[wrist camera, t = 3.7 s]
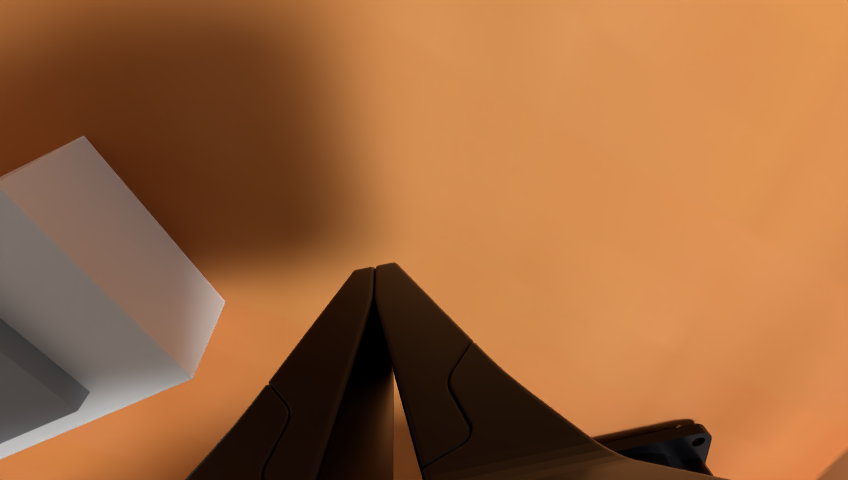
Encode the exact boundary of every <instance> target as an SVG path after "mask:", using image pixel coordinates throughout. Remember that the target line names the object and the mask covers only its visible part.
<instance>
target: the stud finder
mask: <svg viewBox="0 0 848 480" xmlns="http://www.w3.org/2000/svg"><path fill="white" fill-rule="evenodd" d="M224 305H225V301H224V299H223V298H222V297H221V296H220V295H219V294H218V292H217V291H216V290H215V289H214V288H213V287H212V285H211V284H210V283H209V282H208V281H207V280H206V278H205V277H204V276H203V275H202V274H201V272H200V271H199V270H198V269H197V268H196V267H195V265H194V264H193V263H192V262H191V261H190V260H189V258H188V257H187V256H186V255H185V254H184V252H183V251H182V250H181V249H180V248H179V247H178V245H177V244H176V243H175V242H174V241H173V240H172V238H171V237H170V236H169V235H168V234H167V233H166V231H165V230H164V229H163V228H162V227H161V225H160V224H159V223H158V222H157V221H156V220H155V218H154V217H153V216H152V215H151V214H150V213H149V211H148V210H147V209H146V208H145V207H144V205H143V204H142V203H141V202H140V201H139V200H138V198H137V197H136V196H135V195H134V194H133V193H132V191H131V190H130V189H129V188H128V187H127V186H126V184H125V183H124V182H123V181H122V180H121V178H120V177H119V176H118V175H117V174H116V173H115V171H114V170H113V169H112V168H111V167H110V166H109V164H108V163H107V162H106V161H105V160H104V158H103V157H102V156H101V155H100V154H99V153H98V151H97V150H96V149H95V148H94V147H93V146H92V144H91V143H90V142H89V141H88V140H87V139H86V137H85V136H82V137H80V138H78V139H75V140H73V141H71V142H69V143H67V144H65V145H63V146H61V147H59V148H57V149H55V150H53V151H51V152H49V153H47V154H45V155H43V156H41V157H39V158H37V159H35V160H33V161H31V162H29V163H27V164H25V165H23V166H21V167H19V168H17V169H15V170H13V171H11V172H9V173H7V174H5V175H3V176H1V177H0V459H2V458H5V457H7V456H9V455H12V454H14V453H16V452H19V451H21V450H24V449H26V448H28V447H31V446H33V445H35V444H38V443H40V442H43V441H45V440H47V439H50V438H52V437H55V436H57V435H59V434H62V433H64V432H66V431H69V430H71V429H74V428H76V427H78V426H81V425H83V424H85V423H88V422H90V421H93V420H95V419H97V418H100V417H102V416H105V415H107V414H109V413H112V412H114V411H116V410H119V409H121V408H124V407H126V406H128V405H131V404H133V403H136V402H138V401H140V400H143V399H145V398H147V397H150V396H152V395H155V394H157V393H159V392H162V391H164V390H166V389H169V388H171V387H174V386H176V385H178V384H181V383H183V382H186V381H188V380H190V379H193V377H194V374H195V372H196V370H197V367H198V365H199V363H200V360H201V358H202V356H203V353H204V351H205V349H206V346H207V344H208V342H209V339H210V337H211V335H212V332H213V330H214V328H215V325H216V323H217V321H218V319H219V316H220V314H221V312H222V309H223V307H224Z"/></svg>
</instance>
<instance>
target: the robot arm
mask: <svg viewBox="0 0 848 480" xmlns="http://www.w3.org/2000/svg"><path fill="white" fill-rule="evenodd" d="M393 372H394V374H393ZM394 376H395V379H396V383H397V387H398V390H399V394H400V398H401V401H402V405H403V409H404V413H405V416H406V420H407V424H408V427H409V431H410V435H411V438H412V442H413V446H414V449H415V453H416V457H417V461H418V464H419V468H420V472H421V475H422V479H423V480H729V479H724V478H720V477H715V476H713V474H712V473H711V471H710V470H709V469H708V467H707V466H706V464H705V463H706V459H707V455H708V451H709V447H710V443H711V440H712V437H711V435H710V434H709V432H708V431H707V430H706V428H705V427H704V426H703V425H701V424H692V425H687V426H683V427H678V428H673V429H668V430H664V431H659V432H654V433H649V434H644V435H640V436H635V437H630V438H625V439H621V440H616V441H611V442H606V443H601V444H600V443H598V442H596V441H595V440H594V439H592V438H591V437H589V436H588V435H587V434H585V433H584V432H583V431H581V430H580V429H579V428H577V427H576V426H575V425H573V424H572V423H571V422H569V421H568V420H567V419H566V418H564V417H563V416H562V415H560V414H559V413H558V412H556V411H555V410H554V409H552V408H551V407H550V406H548V405H547V404H546V403H544V402H543V401H542V400H540V399H539V398H538V397H536V396H535V395H534V394H532V393H531V392H530V391H529V390H527V389H526V388H525V387H523V386H522V385H521V384H520V383H518V382H517V381H516V380H515V379H514V378H512V377H511V376H510V375H509V374H507V373H506V372H505V371H504V370H503V369H502V368H501V367H499V366H498V365H497V364H496V363H495V362H494V361H493V360H492V359H491V358H490V357H489V356H488V355H487V354H486V353H485V352H484V351H483V350H482V349H481V348H480V347H479V346H478V345H477V344H476V343H474V342H473V340H472V339H471V338H470V337H469V336H468V335H467V334H466V333H465V332H464V331H463V330H462V329H461V328H460V327H459V326H458V325H457V324H456V323H455V322H454V321H453V320H452V319H451V318H450V317H449V316H448V315H447V314H446V313H445V312H444V311H443V310H442V309H441V308H440V307H439V306H438V305H437V304H436V303H435V302H434V301H433V300H432V299H431V298H430V297H429V296H428V295H427V294H426V293H425V292H424V291H423V290H422V289H421V288H420V287H419V286H418V285H417V284H416V283H415V282H414V281H413V280H412V279H411V277H410V276H409V275H408V274H407V273H406V272H405V271H404V270H403V269H402V268H401V267H400V266H399V265H398V264H396V263H388V264H383V265H379V266H377V267H376V269H375V268H374V267H368V268H363V269H358V270H355V271H354V272H353V273H352V274H351V275H350V277H349V278H348V279H347V281H346V282H345V283H344V284H343V286H342V287H341V288H340V290H339V291H338V292H337V294H336V295H335V296H334V297H333V299H332V300H331V301H330V303H329V304H328V305H327V307H326V308H325V309H324V310H323V312H322V313H321V314H320V316H319V317H318V318H317V320H316V321H315V322H314V323H313V325H312V326H311V327H310V329H309V330H308V331H307V333H306V334H305V335H304V336H303V338H302V339H301V340H300V342H299V343H298V344H297V346H296V347H295V348H294V349H293V351H292V352H291V353H290V355H289V356H288V357H287V359H286V360H285V361H284V363H283V364H282V365H281V366H280V368H279V369H278V370H277V372H276V373H275V374H274V376H273V377H272V378H271V379H270V381H269V385H266V386H265V387H264V388H263V390H262V391H261V392H260V393H259V395H258V396H257V397H256V399H255V400H254V401H253V402H252V404H251V405H250V406H249V407H248V409H247V410H246V411H245V412H244V414H243V415H242V416H241V417H240V419H239V420H238V421H237V422H236V423H235V425H234V426H233V427H232V428H231V429H230V430H229V432H228V433H227V434H226V435H225V436H224V437H223V438H222V439H221V441H220V442H219V443H218V444H217V445H216V446H215V447H214V449H213V450H212V451H211V452H210V453H209V454H208V455H207V456H206V457H205V459H204V460H203V461H202V462H201V463H200V464H199V465H198V466H197V467H196V468H195V469H194V470H193V472H192V473H191V474H190V475H189V476H188V477H187V478H186V479H185V480H393V442H394Z"/></svg>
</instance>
